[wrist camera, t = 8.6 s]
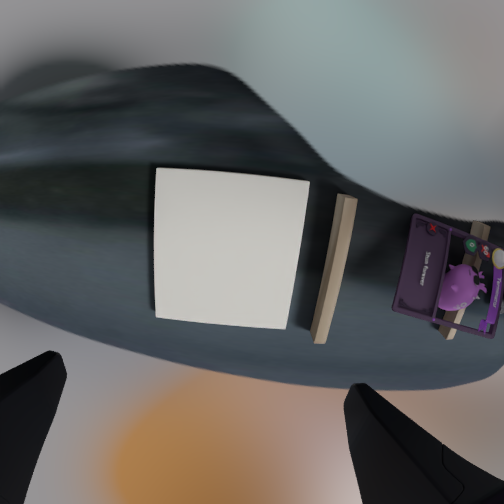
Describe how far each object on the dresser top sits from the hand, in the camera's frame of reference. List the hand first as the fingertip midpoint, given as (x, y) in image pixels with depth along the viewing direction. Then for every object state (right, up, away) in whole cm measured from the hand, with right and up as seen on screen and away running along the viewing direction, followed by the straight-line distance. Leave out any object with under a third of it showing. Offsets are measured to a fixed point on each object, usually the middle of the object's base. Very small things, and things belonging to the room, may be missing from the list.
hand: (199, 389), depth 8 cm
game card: (+11, +3, +12) cm, 17 cm away
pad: (0, +4, +11) cm, 12 cm away
